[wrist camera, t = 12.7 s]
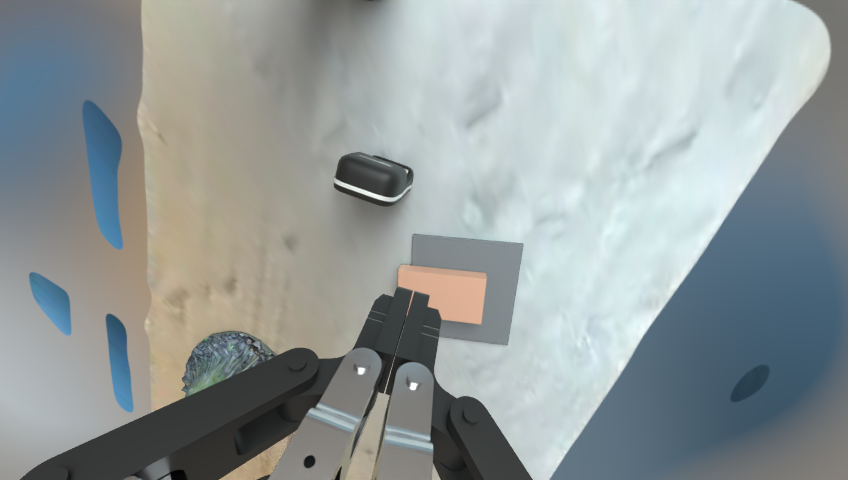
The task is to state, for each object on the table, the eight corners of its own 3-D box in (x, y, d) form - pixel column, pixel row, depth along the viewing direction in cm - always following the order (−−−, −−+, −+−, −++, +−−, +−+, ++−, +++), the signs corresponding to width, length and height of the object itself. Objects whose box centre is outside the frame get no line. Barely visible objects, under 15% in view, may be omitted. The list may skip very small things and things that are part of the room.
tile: (397, 314, 45) (481, 324, 43) (398, 270, 42) (486, 279, 41) (400, 306, 47) (480, 315, 45) (401, 263, 45) (485, 272, 43)
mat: (409, 330, 49) (409, 332, 48) (413, 233, 43) (412, 234, 43) (507, 343, 47) (507, 345, 46) (522, 243, 42) (523, 244, 41)
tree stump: (311, 379, 56) (232, 496, 41) (267, 404, 66) (191, 504, 51) (229, 311, 52) (111, 412, 37) (197, 350, 63) (94, 440, 48)
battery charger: (419, 164, 40) (400, 174, 30) (411, 192, 42) (390, 210, 31) (370, 147, 41) (333, 150, 30) (363, 175, 42) (325, 187, 31)
